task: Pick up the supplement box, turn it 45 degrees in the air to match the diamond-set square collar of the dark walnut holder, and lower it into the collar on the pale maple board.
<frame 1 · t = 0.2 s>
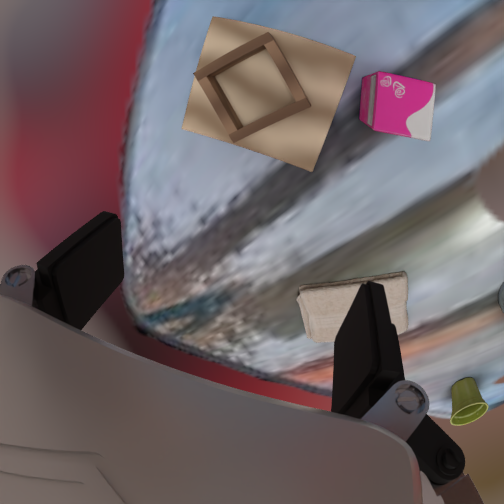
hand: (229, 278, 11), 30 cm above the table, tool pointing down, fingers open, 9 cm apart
supplement box: (382, 101, 32), on the table
washcloth: (354, 303, 48), on the table
collar holder: (257, 87, 34), on the table
plant pot: (462, 384, 53), on the table
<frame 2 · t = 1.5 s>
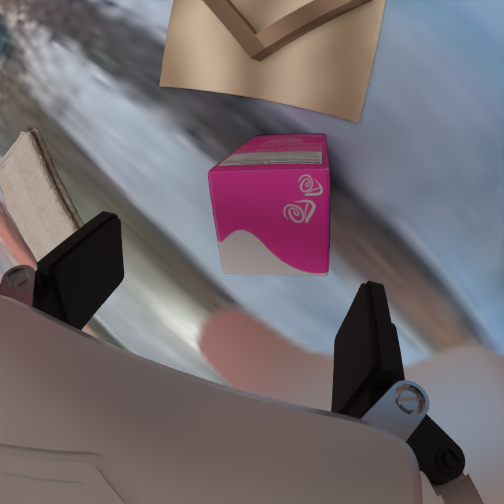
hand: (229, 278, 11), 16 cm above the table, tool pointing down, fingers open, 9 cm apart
supplement box: (293, 166, 24), on the table
washcloth: (46, 199, 33), on the table
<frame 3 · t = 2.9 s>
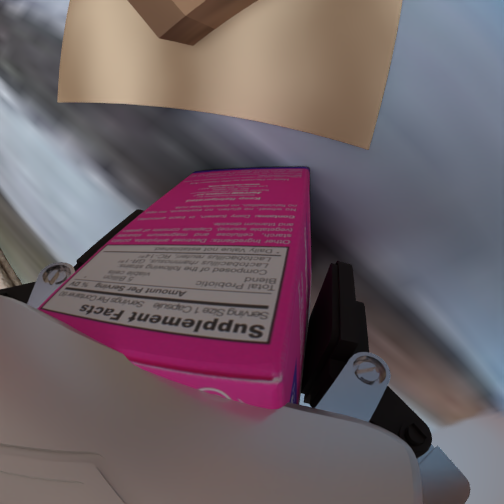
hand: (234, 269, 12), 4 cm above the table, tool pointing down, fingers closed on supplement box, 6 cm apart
supplement box: (257, 219, 15), on the table, touching gripper
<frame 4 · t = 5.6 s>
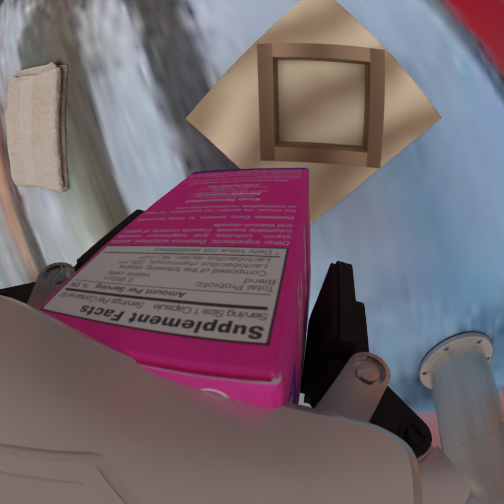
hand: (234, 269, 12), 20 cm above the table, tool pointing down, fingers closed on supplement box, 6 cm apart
supplement box: (256, 220, 15), point 15 cm above the table, touching gripper
washcloth: (43, 126, 32), on the table
collar holder: (321, 101, 25), on the table
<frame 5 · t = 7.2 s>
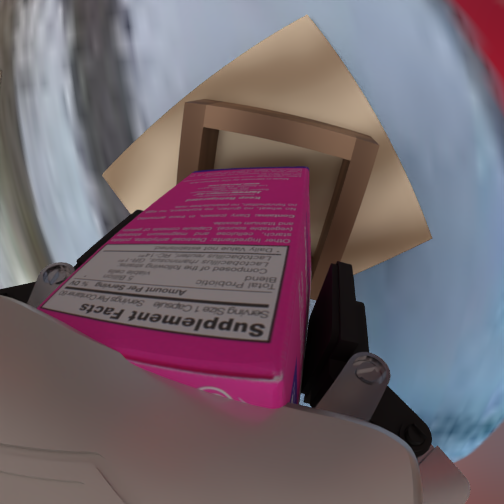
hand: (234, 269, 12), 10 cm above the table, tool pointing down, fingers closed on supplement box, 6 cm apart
supplement box: (257, 219, 15), point 5 cm above the table, touching gripper
collar holder: (272, 186, 20), on the table
when the fingers open (6 cm above the table, at t = 8.7 s): supplement box stays where it is, resting on collar holder.
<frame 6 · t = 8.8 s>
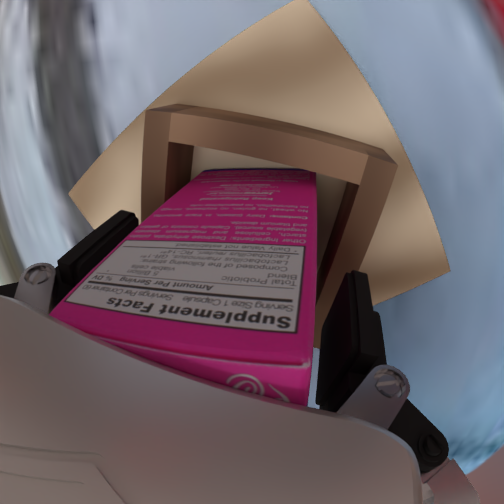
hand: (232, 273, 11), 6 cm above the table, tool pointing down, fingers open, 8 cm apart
supplement box: (263, 218, 16), point 1 cm above the table, touching collar holder
collar holder: (261, 208, 17), on the table
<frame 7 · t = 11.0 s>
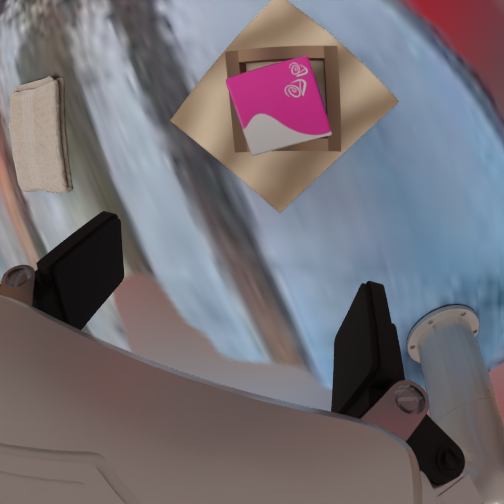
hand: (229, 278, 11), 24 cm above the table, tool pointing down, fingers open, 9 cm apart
supplement box: (289, 98, 28), point 1 cm above the table, touching collar holder
washcloth: (45, 134, 36), on the table
collar holder: (287, 96, 28), on the table
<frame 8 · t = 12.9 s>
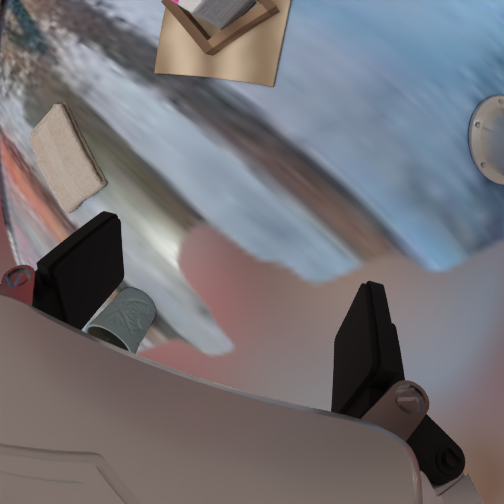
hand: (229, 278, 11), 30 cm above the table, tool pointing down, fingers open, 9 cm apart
grey green embossed cup: (137, 304, 59), on the table
supplement box: (225, 6, 28), point 1 cm above the table, touching collar holder
washcloth: (69, 155, 45), on the table
collar holder: (225, 7, 29), on the table
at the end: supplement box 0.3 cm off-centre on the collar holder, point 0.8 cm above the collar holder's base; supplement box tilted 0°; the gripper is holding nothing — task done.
